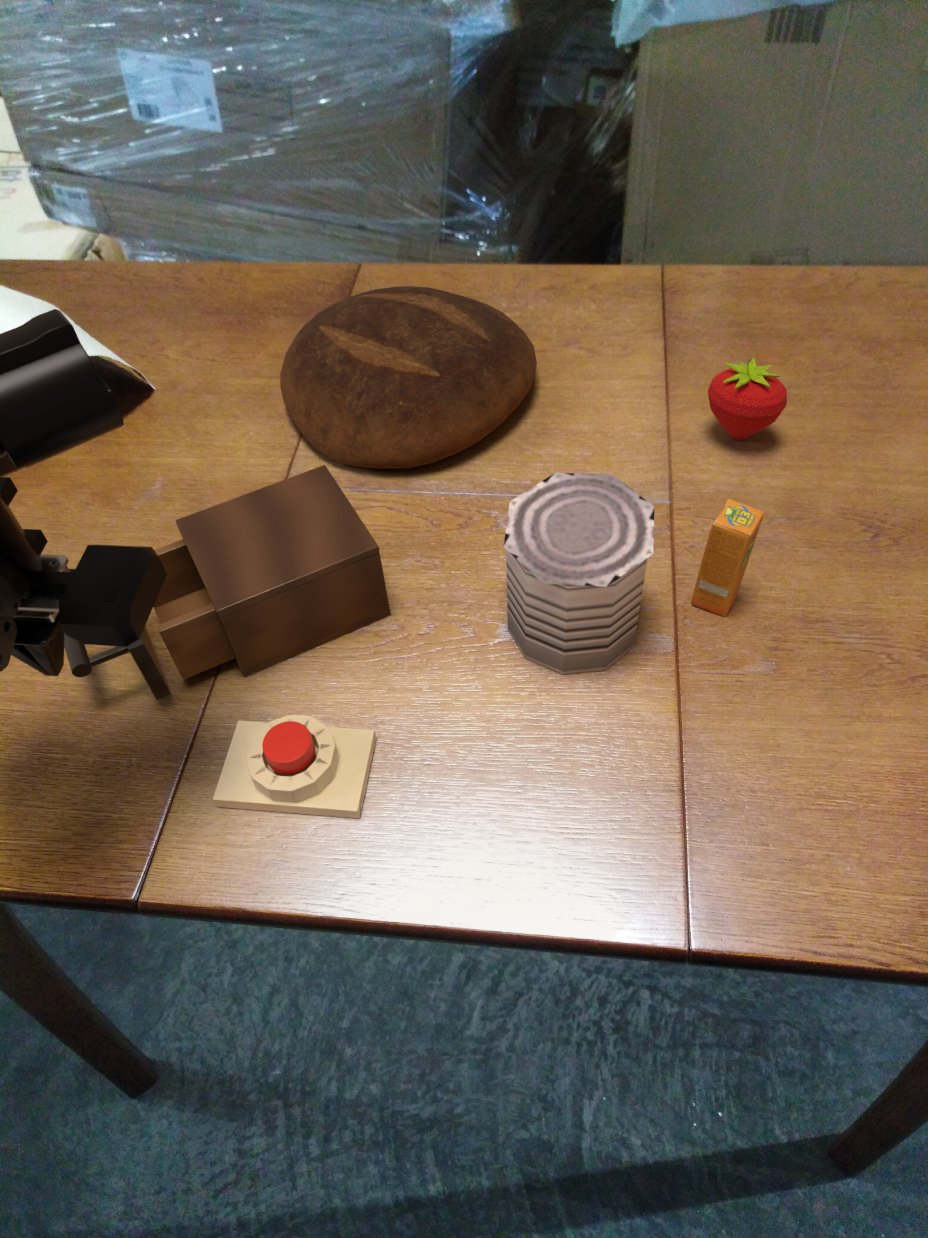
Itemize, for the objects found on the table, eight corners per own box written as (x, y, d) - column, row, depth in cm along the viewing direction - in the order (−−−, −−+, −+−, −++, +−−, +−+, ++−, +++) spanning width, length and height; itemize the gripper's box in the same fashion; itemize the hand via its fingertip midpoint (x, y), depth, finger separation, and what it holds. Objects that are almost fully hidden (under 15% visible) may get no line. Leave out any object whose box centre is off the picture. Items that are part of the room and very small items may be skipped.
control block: (216, 807, 67) (205, 787, 65) (241, 728, 71) (232, 707, 69) (359, 819, 66) (353, 799, 63) (376, 737, 70) (371, 716, 68)
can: (668, 624, 76) (688, 522, 67) (574, 700, 71) (581, 603, 62) (572, 554, 82) (578, 451, 72) (479, 620, 77) (473, 520, 68)
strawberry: (766, 467, 88) (789, 381, 80) (691, 447, 90) (707, 362, 82) (781, 431, 91) (805, 346, 83) (709, 413, 93) (725, 328, 86)
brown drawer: (99, 725, 71) (65, 675, 66) (72, 637, 77) (39, 584, 72) (300, 640, 76) (283, 587, 71) (260, 562, 82) (241, 508, 77)
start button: (261, 773, 66) (256, 761, 64) (274, 731, 68) (268, 719, 67) (309, 777, 65) (304, 764, 64) (320, 735, 68) (315, 722, 66)
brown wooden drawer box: (244, 677, 75) (216, 611, 68) (203, 587, 81) (174, 519, 75) (391, 614, 78) (378, 546, 72) (340, 533, 85) (324, 464, 78)
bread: (389, 297, 111) (380, 228, 104) (581, 361, 100) (585, 289, 94) (230, 421, 97) (208, 351, 90) (434, 512, 86) (426, 440, 79)
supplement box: (728, 619, 76) (750, 536, 68) (689, 605, 77) (707, 521, 69) (742, 593, 78) (765, 509, 70) (704, 579, 79) (723, 495, 71)
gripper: (-320, 603, 44) (-137, 766, 56) (39, 623, 41) (149, 788, 54) (-190, 454, 51) (-53, 627, 63) (123, 464, 48) (203, 641, 61)
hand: (55, 670), depth 60 cm, fingers closed
